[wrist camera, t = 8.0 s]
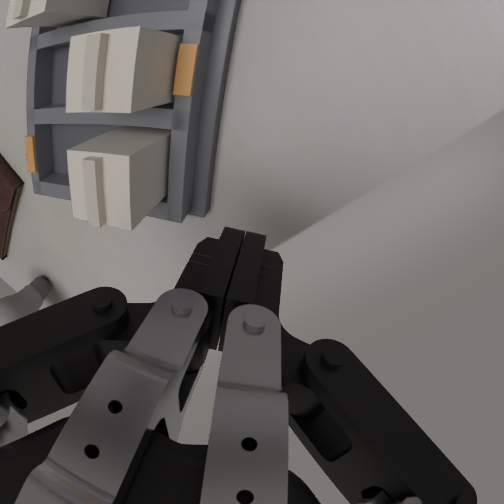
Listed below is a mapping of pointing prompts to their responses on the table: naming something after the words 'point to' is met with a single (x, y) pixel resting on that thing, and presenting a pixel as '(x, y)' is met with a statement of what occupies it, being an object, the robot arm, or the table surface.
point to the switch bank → (162, 116)
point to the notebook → (7, 202)
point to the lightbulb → (24, 301)
